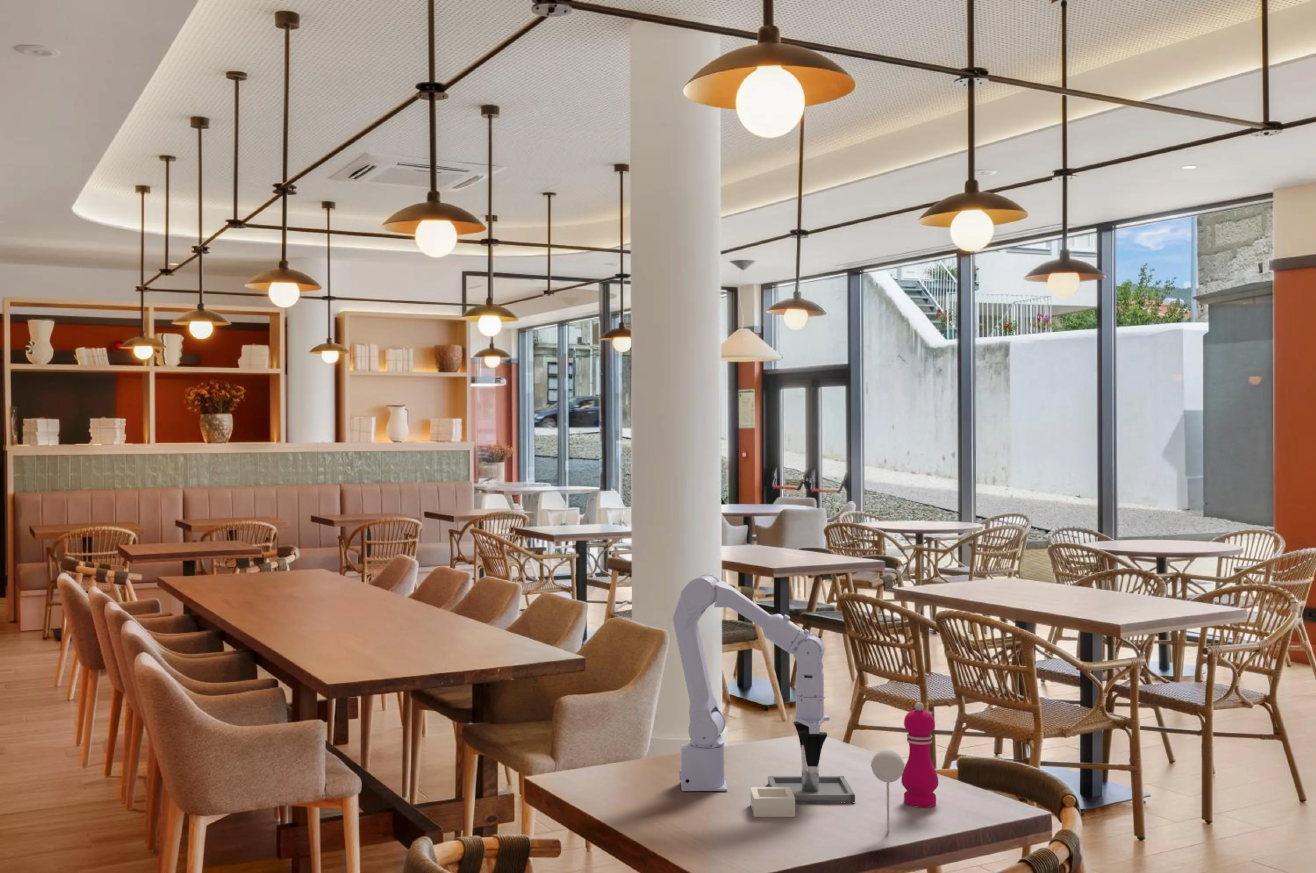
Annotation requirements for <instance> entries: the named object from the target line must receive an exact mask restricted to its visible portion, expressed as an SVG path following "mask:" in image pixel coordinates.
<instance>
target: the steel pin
mask: <svg viewBox="0 0 1316 873" xmlns="http://www.w3.org/2000/svg"><path fill="white" fill-rule="evenodd" d="M800 750H801V756H800V757H801V776H802V791H804V792H817V791H819V776H820V775H819V773H820V772H819V770H820V769H819V767H820V765H819V764H820V763H819V764H818V766H817V767H808V766H807V762H806V757H805V750H804V745H801V746H800Z"/></svg>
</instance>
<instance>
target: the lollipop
mask: <svg viewBox="0 0 1316 873" xmlns="http://www.w3.org/2000/svg"><path fill="white" fill-rule="evenodd" d="M870 762H871V763H870V767H871V770H872V773H873V775H874V776H875V777H876V778H877V779H878V780H879V781H880V782H884V783H886V833H890V831H891V830H890V783H894V782H896V781H898V780H899V779H901V778H902V774H903V771H904V768H905V762H904V760H903V758H902V756H901V754H899V753H898V752H897V751H895V750H892V749H886V748H885V749H881V750H879V751H878V752H876V753H875V754H874V755H873V757H872V760H871V761H870Z"/></svg>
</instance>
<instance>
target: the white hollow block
mask: <svg viewBox="0 0 1316 873" xmlns="http://www.w3.org/2000/svg"><path fill="white" fill-rule="evenodd" d="M750 807H751V811H752V814H753V817H754V818H796V803H795V797H794V795H793V792H792V790H791V788H790V787H769V786H755V787H754V786H751V787H750Z"/></svg>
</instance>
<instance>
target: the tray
mask: <svg viewBox="0 0 1316 873" xmlns="http://www.w3.org/2000/svg"><path fill="white" fill-rule="evenodd" d="M767 784H769V785H768V787H790V788H791V790H792V792H793V795H794V797H795V804H854V803H853V802H855V803H856V795H855V793H854V791H853V789H852V787H851V786H850V784H849V783H848V781H847V780H846V777H845V776H844V775H819V791H817V792H804V791H802V775H788V776H787V775H768V777H767ZM841 802H842V803H841ZM844 802H845V803H844ZM847 802H849V803H847ZM850 802H852V803H850Z"/></svg>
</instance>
